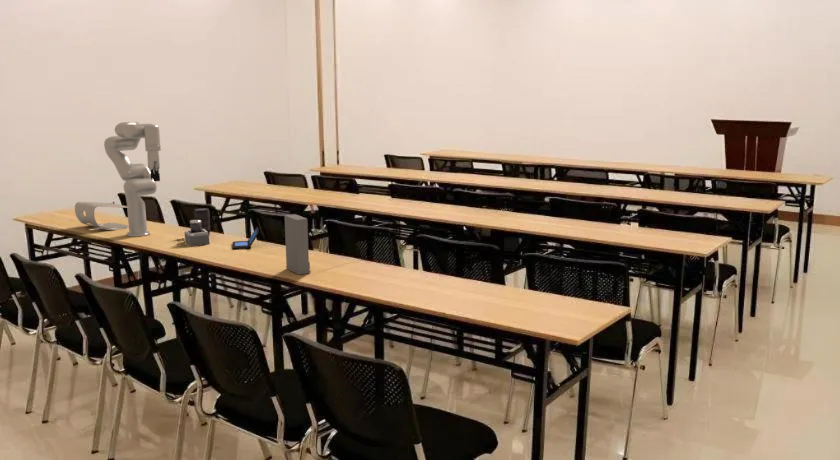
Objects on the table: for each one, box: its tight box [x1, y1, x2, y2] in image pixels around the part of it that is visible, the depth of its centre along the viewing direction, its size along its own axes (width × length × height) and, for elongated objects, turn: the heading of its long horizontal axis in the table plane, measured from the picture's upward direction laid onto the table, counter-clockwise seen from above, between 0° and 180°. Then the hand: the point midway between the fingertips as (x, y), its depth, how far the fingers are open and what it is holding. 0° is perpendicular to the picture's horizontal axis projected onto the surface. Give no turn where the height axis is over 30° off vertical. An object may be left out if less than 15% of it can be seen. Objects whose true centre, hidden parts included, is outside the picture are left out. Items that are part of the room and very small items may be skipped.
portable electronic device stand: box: [74, 201, 129, 231], centre depth 427 cm, size 26×24×16 cm
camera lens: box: [194, 208, 211, 236], centre depth 403 cm, size 8×8×15 cm
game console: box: [232, 226, 260, 251], centre depth 377 cm, size 16×14×9 cm
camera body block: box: [184, 229, 210, 247], centre depth 386 cm, size 14×10×6 cm
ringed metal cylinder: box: [189, 219, 202, 233], centre depth 385 cm, size 6×6×7 cm
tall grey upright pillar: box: [284, 214, 312, 276], centre depth 323 cm, size 14×6×25 cm, turn 33°
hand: (155, 180), depth 384 cm, fingers open, 9 cm apart
